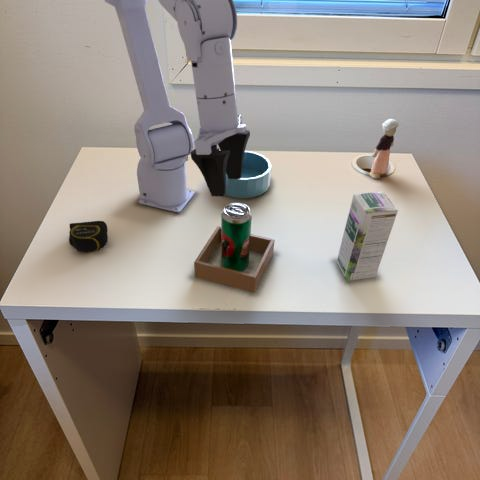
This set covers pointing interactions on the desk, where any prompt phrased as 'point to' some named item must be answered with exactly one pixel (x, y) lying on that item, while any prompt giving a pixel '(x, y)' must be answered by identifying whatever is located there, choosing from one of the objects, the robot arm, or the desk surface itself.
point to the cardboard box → (228, 275)
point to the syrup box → (366, 235)
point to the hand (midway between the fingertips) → (226, 186)
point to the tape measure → (88, 236)
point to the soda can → (235, 236)
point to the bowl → (250, 177)
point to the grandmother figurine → (383, 149)
